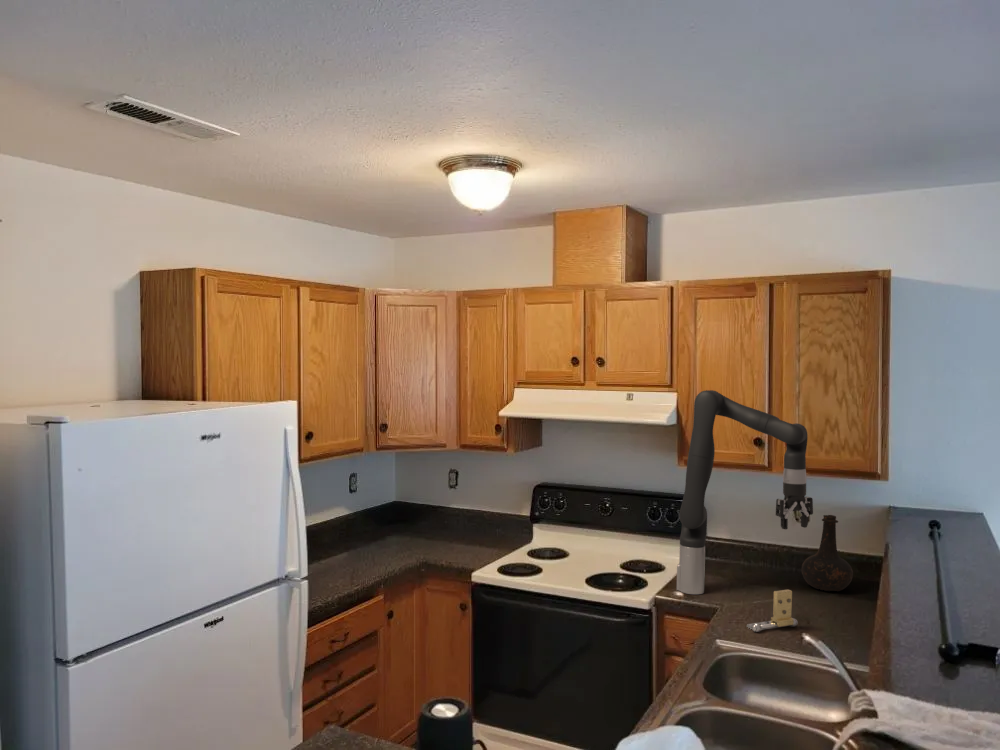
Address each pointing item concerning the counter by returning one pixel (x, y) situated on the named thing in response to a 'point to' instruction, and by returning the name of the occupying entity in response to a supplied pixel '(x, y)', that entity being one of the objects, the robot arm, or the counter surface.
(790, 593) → the yellow bracket with holes
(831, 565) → the glass bottle
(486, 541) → the counter surface
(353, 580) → the counter surface
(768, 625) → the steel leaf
